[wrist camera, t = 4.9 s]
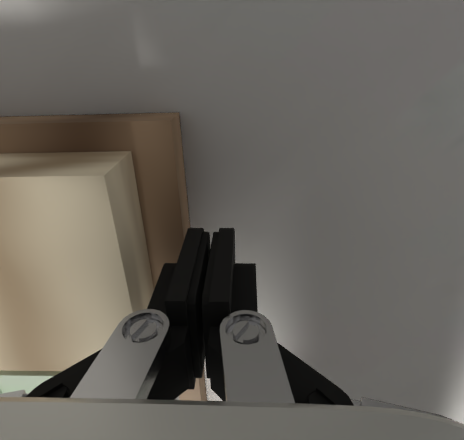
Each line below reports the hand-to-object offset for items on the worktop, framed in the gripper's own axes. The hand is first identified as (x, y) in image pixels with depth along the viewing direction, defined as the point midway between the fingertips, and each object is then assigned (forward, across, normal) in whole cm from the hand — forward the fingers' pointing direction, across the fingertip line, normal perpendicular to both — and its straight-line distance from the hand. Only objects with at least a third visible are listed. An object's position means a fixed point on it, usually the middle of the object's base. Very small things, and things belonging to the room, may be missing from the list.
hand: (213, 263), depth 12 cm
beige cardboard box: (+1, +6, 0) cm, 6 cm away
